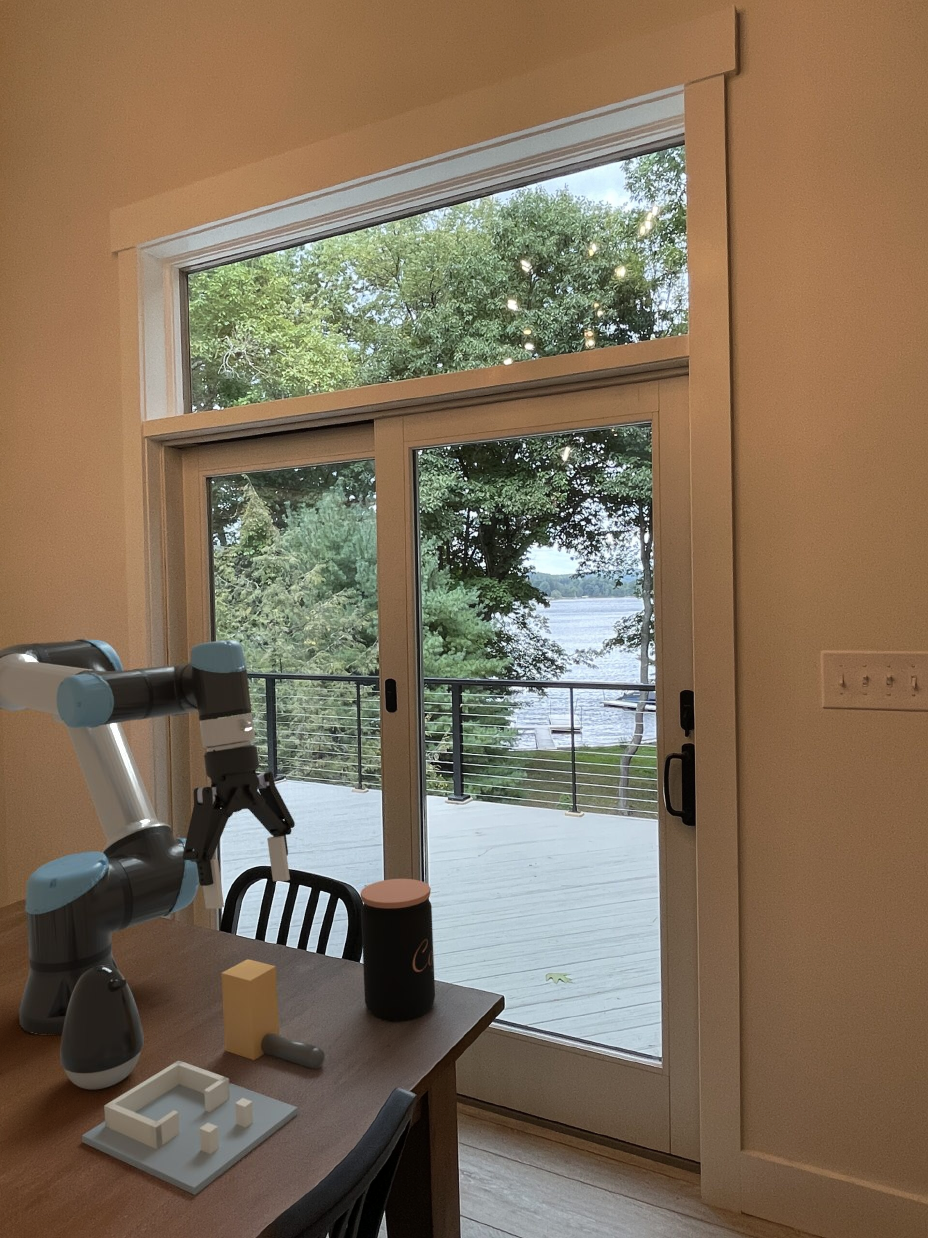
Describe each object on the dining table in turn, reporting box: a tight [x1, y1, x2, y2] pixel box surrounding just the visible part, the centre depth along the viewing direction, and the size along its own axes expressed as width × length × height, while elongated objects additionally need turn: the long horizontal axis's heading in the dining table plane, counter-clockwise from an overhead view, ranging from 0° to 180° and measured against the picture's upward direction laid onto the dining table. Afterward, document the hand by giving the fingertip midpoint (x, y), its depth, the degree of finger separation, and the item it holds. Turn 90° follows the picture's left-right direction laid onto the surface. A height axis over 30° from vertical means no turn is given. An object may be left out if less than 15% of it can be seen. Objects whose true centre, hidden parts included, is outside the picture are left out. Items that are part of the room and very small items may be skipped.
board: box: [81, 1060, 299, 1196], centre depth 103 cm, size 19×16×3 cm
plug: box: [221, 959, 326, 1069], centre depth 118 cm, size 16×5×11 cm, turn 59°
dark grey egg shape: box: [59, 964, 145, 1090], centre depth 114 cm, size 10×10×15 cm
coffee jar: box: [360, 878, 436, 1023], centre depth 131 cm, size 11×11×18 cm
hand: (249, 893), depth 124 cm, fingers open, 13 cm apart
